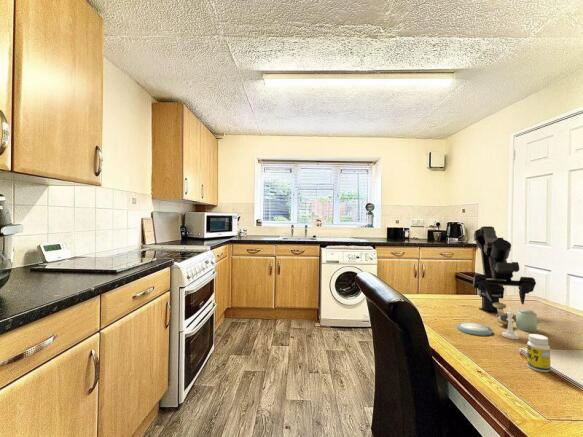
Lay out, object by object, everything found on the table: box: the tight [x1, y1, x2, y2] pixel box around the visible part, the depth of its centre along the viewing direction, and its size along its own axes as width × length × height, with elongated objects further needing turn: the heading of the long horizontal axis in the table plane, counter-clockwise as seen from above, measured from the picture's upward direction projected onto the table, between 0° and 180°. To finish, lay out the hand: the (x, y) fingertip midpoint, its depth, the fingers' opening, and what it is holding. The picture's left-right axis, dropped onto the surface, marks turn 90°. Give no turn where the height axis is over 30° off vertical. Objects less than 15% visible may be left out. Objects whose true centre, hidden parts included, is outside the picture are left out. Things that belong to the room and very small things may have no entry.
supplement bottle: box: [526, 333, 551, 373], centre depth 81 cm, size 5×5×8 cm
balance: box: [493, 301, 509, 325], centre depth 120 cm, size 17×5×6 cm, turn 152°
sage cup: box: [515, 308, 538, 333], centre depth 112 cm, size 6×6×7 cm
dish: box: [456, 322, 493, 337], centre depth 110 cm, size 11×11×1 cm
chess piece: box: [501, 306, 520, 340], centre depth 104 cm, size 5×5×10 cm
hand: (507, 302), depth 108 cm, fingers open, 9 cm apart
